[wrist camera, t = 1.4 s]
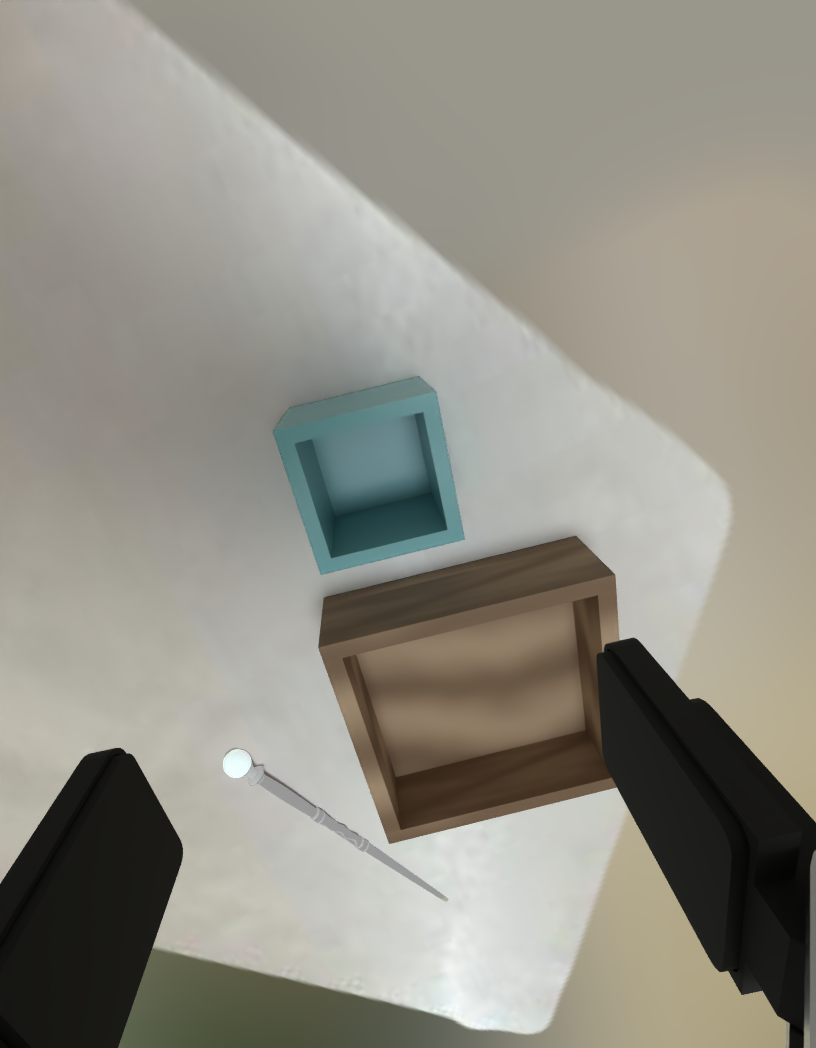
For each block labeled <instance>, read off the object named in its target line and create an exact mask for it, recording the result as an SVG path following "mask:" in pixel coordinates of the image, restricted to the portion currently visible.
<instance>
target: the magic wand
mask: <svg viewBox="0 0 816 1048" xmlns="http://www.w3.org/2000/svg"><path fill="white" fill-rule="evenodd" d="M223 768H224V771H225V772H226V773H227V774H228V775H229V776H231V777H233V778H239V777H241V778H242V777H248V783H249V785H250V786H253V785H255V784H260V785H261V786H263V787H264V788H265V789H267V790H268V791H270V792H271V793H273V794H274V795H275V796H277V797H279V798H280V799H282V800H283V801H285V802H286V803H288V804H290V805H291V806H293V807H295V808H297V809H298V810H300V811H302V812H303V813H305V814H307V815H309V816H310V818H311V819H312V820H314V821H315V822H317V823H319V824H321V825H323V826H326V827H327V828H329V829H330V830H332V831H335V832H336V833H337V834H338V835H340V836H341V837H343V838H344V839H346V840H348V841H349V842H350V843H352V844H353V845H355V847H356V848H358V849H359V850H361V851H362V852H367V853H368V854H370V855H372V856H373V857H375V858H376V859H378V860H380V861H381V862H383V863H384V864H386V865H387V866H389V867H391V868H392V869H394V870H395V871H397V872H399V873H400V874H402V875H403V876H405V877H407V878H408V879H410V880H411V881H413V882H415V883H416V884H418V885H419V886H421V887H423V888H424V889H426V890H427V891H429V892H431V893H432V894H434V895H435V896H437V897H439V898H440V899H442V900H444V901H448V898H446V897H445V896H444V895H442V894H441V893H440V892H438V891H437V890H436V889H434V888H433V887H431V886H430V885H429V884H427V883H426V882H424V881H423V880H422V879H420V878H419V877H417V876H416V875H414V874H413V873H412V872H410V871H409V870H407V869H406V868H404V867H403V866H402V865H400V864H399V863H397V862H396V861H394V860H393V859H391V858H390V857H389V856H387V855H386V854H384V853H383V852H381V851H380V850H378V849H377V848H375V847H374V846H372V845H371V844H370V843H369V841H367V840H366V839H364V838H363V837H360V836H358V835H357V834H355V833H353V832H351V831H350V830H349V829H347V828H346V827H345V826H344V825H342V824H339V823H338V822H336V821H335V820H334V819H332V818H331V817H329V816H328V815H327V814H326V813H325V812H324V811H322V810H320V809H319V808H317V807H316V808H315V807H314V806H312V805H311V804H309V803H308V802H307V801H305V800H304V799H302V798H301V797H299V796H298V795H297V794H295V793H294V792H292V791H291V790H289V789H288V788H286V787H285V786H283V785H282V784H280V783H278V782H277V781H275V780H273V779H272V778H270V777H268V776H266V775H265V774H264V772H263V771H264V767H263V766H257V767H254V766H253V765H252V761H251V758H250V755H249V754H248V753H247V752H245V751H243V750H239V749H235V750H232V751H230V752H229V753H228V754H227V755H226V756H225V758H224V761H223Z"/></svg>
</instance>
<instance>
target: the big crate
mask: <svg viewBox="0 0 816 1048" xmlns="http://www.w3.org/2000/svg"><path fill="white" fill-rule="evenodd" d="M616 641H619V627H618V611H617V595H616V579H615V574H614V573H613V572H612V571H611V570H610V569H609V568H608V567H607V566H606V565H605V564H604V563H603V562H602V561H601V560H600V559H599V558H598V557H597V556H596V555H595V554H594V553H593V552H592V551H591V550H590V549H589V548H588V547H587V546H586V545H585V544H584V543H583V542H582V541H581V540H580V539H579V538H578V537H577V536H575V537H571V538H567V539H562V540H558V541H554V542H550V543H546V544H542V545H538V546H534V547H530V548H526V549H522V550H518V551H514V552H509V553H505V554H501V555H497V556H493V557H489V558H485V559H481V560H477V561H473V562H469V563H465V564H461V565H457V566H452V567H448V568H444V569H440V570H436V571H432V572H428V573H424V574H420V575H416V576H412V577H408V578H404V579H400V580H395V581H391V582H387V583H383V584H379V585H375V586H371V587H367V588H363V589H359V590H355V591H351V592H347V593H342V594H338V595H334V596H330V597H326V598H324V601H323V610H322V619H321V628H320V637H319V646H318V648H319V651H320V654H321V656H322V659H323V662H324V665H325V667H326V670H327V673H328V676H329V678H330V681H331V684H332V687H333V690H334V692H335V695H336V698H337V701H338V703H339V706H340V709H341V712H342V714H343V717H344V720H345V723H346V726H347V728H348V731H349V734H350V737H351V739H352V742H353V745H354V748H355V751H356V753H357V756H358V759H359V762H360V764H361V767H362V770H363V773H364V775H365V778H366V781H367V784H368V787H369V789H370V792H371V795H372V798H373V800H374V803H375V806H376V809H377V811H378V814H379V817H380V820H381V823H382V825H383V828H384V831H385V834H386V836H387V839H388V842H389V844H391V843H395V842H399V841H403V840H407V839H411V838H415V837H419V836H423V835H427V834H431V833H435V832H439V831H443V830H447V829H451V828H455V827H459V826H464V825H468V824H472V823H476V822H480V821H484V820H488V819H492V818H496V817H500V816H504V815H508V814H512V813H516V812H520V811H524V810H528V809H532V808H536V807H540V806H544V805H548V804H552V803H556V802H560V801H564V800H568V799H572V798H576V797H580V796H584V795H588V794H592V793H596V792H600V791H604V790H608V789H612V788H616V785H615V783H614V781H613V779H612V777H611V775H610V774H609V772H608V769H607V767H606V764H605V761H604V758H603V753H602V739H601V724H600V708H599V692H598V677H597V661H596V656H597V654H598V653H601V652H604V646H605V644H607V643H611V642H616Z"/></svg>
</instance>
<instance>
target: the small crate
mask: <svg viewBox="0 0 816 1048" xmlns="http://www.w3.org/2000/svg"><path fill="white" fill-rule="evenodd" d="M273 434H274V437H275V440H276V443H277V446H278V449H279V452H280V455H281V458H282V461H283V463H284V466H285V469H286V472H287V475H288V478H289V481H290V484H291V487H292V490H293V493H294V496H295V499H296V502H297V505H298V508H299V511H300V514H301V517H302V520H303V523H304V526H305V529H306V532H307V535H308V538H309V541H310V544H311V547H312V550H313V553H314V556H315V559H316V562H317V565H318V568H319V571H320V574H321V575H322V574H326V573H330V572H334V571H339V570H343V569H347V568H351V567H355V566H359V565H363V564H367V563H371V562H375V561H379V560H383V559H387V558H392V557H396V556H400V555H404V554H408V553H412V552H416V551H420V550H424V549H428V548H432V547H436V546H441V545H445V544H449V543H453V542H457V541H461V540H465V538H464V532H463V527H462V522H461V517H460V512H459V507H458V502H457V496H456V491H455V486H454V481H453V476H452V471H451V466H450V460H449V455H448V450H447V445H446V440H445V435H444V430H443V424H442V419H441V414H440V409H439V404H438V399H437V394H436V391H435V390H434V389H433V388H432V387H431V386H429V385H428V384H427V383H426V382H425V381H424V380H423V379H422V378H421V377H419V376H418V377H414V378H410V379H406V380H402V381H398V382H394V383H390V384H385V385H381V386H377V387H373V388H369V389H365V390H361V391H357V392H352V393H348V394H344V395H340V396H336V397H332V398H328V399H324V400H320V401H315V402H311V403H307V404H303V405H299V406H295V407H291V408H289V409H288V411H287V412H286V414H285V415H284V416H283V418H282V419H281V420H280V422H279V423H278V425H277V426H276V427H275V429H274V430H273Z"/></svg>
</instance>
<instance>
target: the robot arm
mask: <svg viewBox="0 0 816 1048" xmlns="http://www.w3.org/2000/svg"><path fill="white" fill-rule="evenodd" d="M596 661H597V677H598V692H599V708H600V724H601V739H602V753H603V758H604V761H605V764H606V767H607V769H608V772H609V774H610V775H611V777H612V779H613V781H614V783H615V785H616V787H617V788H618V790H619V792H620V794H621V796H622V798H623V800H624V801H625V803H626V805H627V807H628V809H629V811H630V812H631V814H632V816H633V818H634V820H635V822H636V824H637V825H638V827H639V829H640V831H641V833H642V835H643V837H644V838H645V840H646V842H647V844H648V846H649V848H650V850H651V851H652V853H653V855H654V857H655V859H656V861H657V862H658V864H659V866H660V868H661V870H662V872H663V874H664V875H665V877H666V879H667V881H668V883H669V885H670V887H671V888H672V890H673V892H674V894H675V896H676V898H677V899H678V901H679V903H680V905H681V907H682V909H683V911H684V913H685V914H686V916H687V918H688V920H689V922H690V923H691V925H692V927H693V929H694V931H695V933H696V935H697V937H698V939H699V940H700V942H701V944H702V946H703V948H704V950H705V952H706V953H707V955H708V957H709V959H710V960H711V962H712V964H713V965H714V966H715V968H716V969H717V970H718V971H719V972H724V971H729V973H730V975H731V977H732V978H733V980H734V982H735V983H736V986H737V987H738V989H739V991H740V992H741V994H742V995H744V994H749V993H753V992H758V991H763V992H764V994H765V996H766V997H767V999H768V1000H769V1002H770V1004H771V1006H772V1007H773V1009H774V1011H775V1012H776V1014H777V1016H779V1017H781V1018H782V1019H784V1020H785V1021H787V1022H786V1048H816V823H815V821H814V820H813V819H812V818H811V817H810V816H809V815H808V813H806V811H805V810H804V809H803V808H802V807H801V806H800V805H799V803H798V802H797V801H796V800H795V799H794V798H793V797H792V796H791V795H790V793H789V792H788V791H787V790H786V789H785V788H784V787H783V786H782V785H781V784H780V782H778V780H777V779H776V778H775V777H774V776H773V775H772V773H771V772H770V771H769V770H768V769H767V768H766V767H765V766H764V765H763V763H762V762H761V761H760V760H759V759H758V758H757V757H756V756H755V755H754V754H753V752H752V751H751V750H750V749H749V748H748V747H747V746H746V745H745V743H744V742H743V741H742V740H741V739H740V738H739V737H738V736H737V735H736V733H735V732H734V731H733V730H732V729H731V728H730V727H729V726H728V725H727V724H726V723H725V721H724V720H723V719H722V718H721V717H720V716H719V715H718V713H717V712H716V711H715V710H714V709H713V708H712V707H711V706H710V705H709V704H708V703H706V701H704V700H702V699H700V698H696V699H691V700H689V699H688V697H687V696H686V695H685V694H684V693H683V692H682V690H681V689H680V688H679V687H678V686H677V685H676V683H675V682H674V681H673V680H672V679H671V678H670V676H669V675H668V674H667V673H666V672H665V671H664V669H663V668H662V667H661V666H660V665H659V664H658V662H657V661H656V660H655V659H654V658H653V657H652V655H651V654H650V653H649V652H648V651H647V650H646V648H645V647H644V646H643V645H642V644H641V643H640V642H639V641H638V640H637V639H636V638H630V639H625V640H621V641H616V642H611V643H607V644H605V646H604V652H601V653H598V654H597V656H596ZM182 857H183V847H182V843H181V840H180V838H179V837H178V835H177V833H176V831H175V829H174V828H173V826H172V824H171V822H170V820H169V819H168V817H167V815H166V813H165V812H164V810H163V808H162V806H161V804H160V803H159V801H158V799H157V797H156V795H155V794H154V792H153V790H152V788H151V786H150V785H149V783H148V781H147V779H146V777H145V776H144V774H143V772H142V770H141V768H140V767H139V765H138V763H137V761H136V759H135V758H134V756H133V755H132V754H130V753H129V754H126V752H125V751H124V750H123V749H121V748H114V749H109V750H105V751H100V752H95V753H91V754H88V755H86V756H85V757H84V758H83V759H82V760H81V761H80V763H79V764H78V766H77V767H76V769H75V770H74V772H73V774H72V775H71V777H70V778H69V780H68V781H67V783H66V784H65V786H64V787H63V789H62V790H61V792H60V793H59V795H58V796H57V798H56V799H55V801H54V803H53V804H52V806H51V807H50V809H49V810H48V812H47V813H46V815H45V816H44V818H43V819H42V821H41V822H40V824H39V825H38V827H37V829H36V830H35V832H34V833H33V835H32V836H31V838H30V839H29V841H28V842H27V844H26V845H25V847H24V848H23V850H22V851H21V853H20V855H19V856H18V858H17V859H16V861H15V862H14V864H13V865H12V867H11V868H10V870H9V871H8V873H7V874H6V876H5V877H4V879H3V880H2V882H1V884H0V1048H118V1046H119V1043H120V1040H121V1037H122V1034H123V1031H124V1028H125V1026H126V1023H127V1020H128V1017H129V1014H130V1011H131V1008H132V1005H133V1002H134V999H135V997H136V994H137V991H138V988H139V985H140V982H141V979H142V976H143V973H144V970H145V967H146V964H147V962H148V959H149V955H150V953H151V950H152V947H153V944H154V941H155V938H156V935H157V933H158V930H159V927H160V924H161V921H162V918H163V915H164V912H165V909H166V906H167V903H168V901H169V898H170V895H171V892H172V889H173V886H174V883H175V880H176V877H177V874H178V871H179V869H180V866H181V862H182Z"/></svg>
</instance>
